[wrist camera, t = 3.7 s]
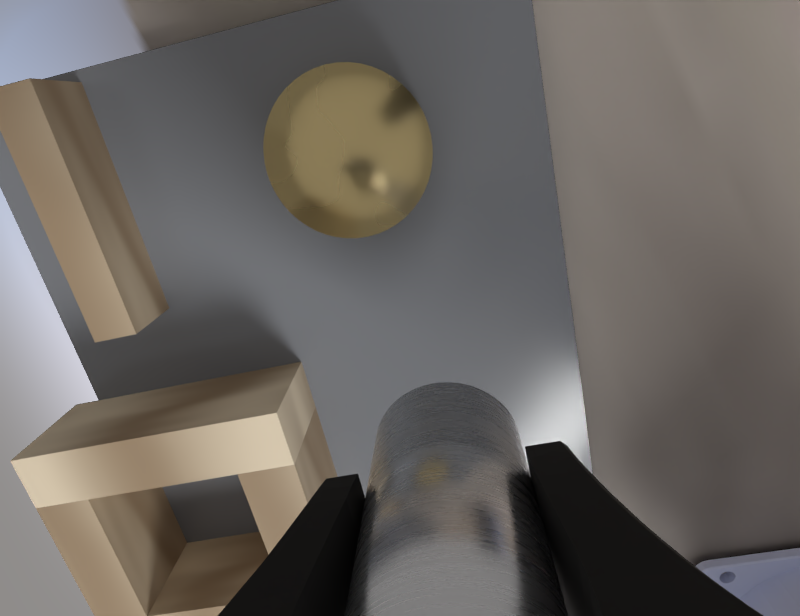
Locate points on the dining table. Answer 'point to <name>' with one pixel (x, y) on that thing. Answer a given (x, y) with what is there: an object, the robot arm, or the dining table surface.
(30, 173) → the beech rail
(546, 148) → the slate board
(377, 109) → the gold metal dome
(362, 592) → the steel pin
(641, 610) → the robot arm
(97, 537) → the beech socket block
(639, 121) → the dining table surface
